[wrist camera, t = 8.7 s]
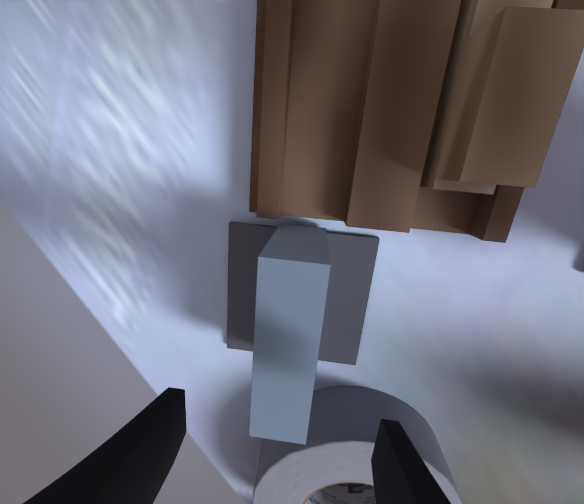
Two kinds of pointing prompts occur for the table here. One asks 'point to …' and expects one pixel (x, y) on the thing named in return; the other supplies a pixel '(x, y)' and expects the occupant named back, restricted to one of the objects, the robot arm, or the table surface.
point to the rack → (360, 116)
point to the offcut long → (472, 16)
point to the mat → (340, 293)
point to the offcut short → (511, 95)
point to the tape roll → (343, 451)
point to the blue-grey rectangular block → (288, 331)
